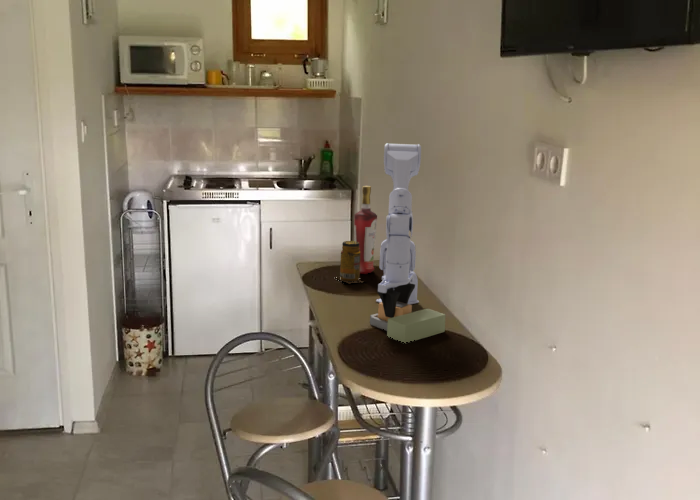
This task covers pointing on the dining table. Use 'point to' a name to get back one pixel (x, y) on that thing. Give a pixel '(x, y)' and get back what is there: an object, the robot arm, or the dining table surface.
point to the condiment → (350, 261)
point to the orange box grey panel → (400, 310)
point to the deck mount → (412, 325)
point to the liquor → (365, 232)
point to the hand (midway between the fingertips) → (395, 314)
